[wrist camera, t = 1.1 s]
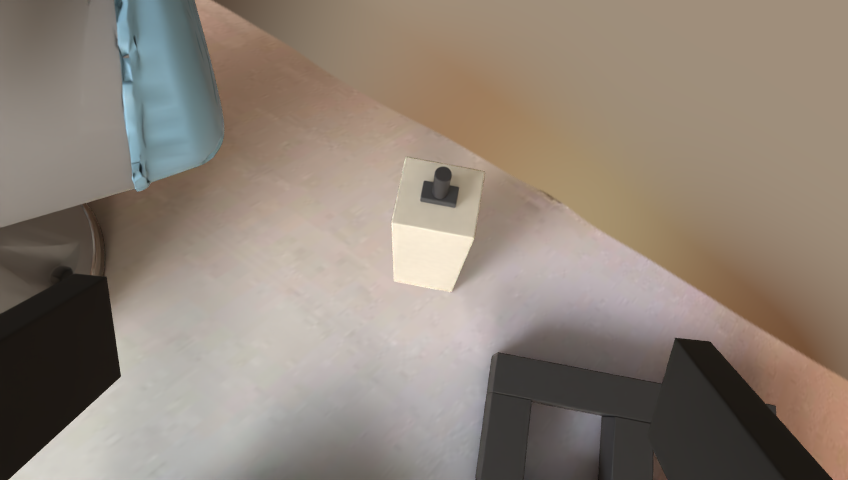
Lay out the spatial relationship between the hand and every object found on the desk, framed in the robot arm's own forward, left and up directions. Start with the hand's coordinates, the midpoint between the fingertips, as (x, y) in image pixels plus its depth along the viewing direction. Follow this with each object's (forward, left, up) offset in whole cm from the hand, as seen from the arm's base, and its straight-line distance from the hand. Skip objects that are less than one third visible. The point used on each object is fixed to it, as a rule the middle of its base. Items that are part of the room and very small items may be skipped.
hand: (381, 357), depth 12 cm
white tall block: (-6, +8, -23) cm, 24 cm away
